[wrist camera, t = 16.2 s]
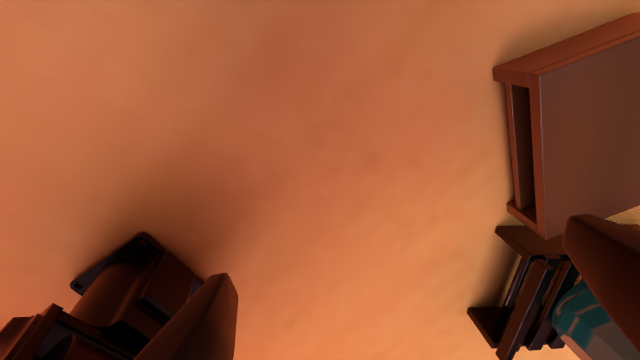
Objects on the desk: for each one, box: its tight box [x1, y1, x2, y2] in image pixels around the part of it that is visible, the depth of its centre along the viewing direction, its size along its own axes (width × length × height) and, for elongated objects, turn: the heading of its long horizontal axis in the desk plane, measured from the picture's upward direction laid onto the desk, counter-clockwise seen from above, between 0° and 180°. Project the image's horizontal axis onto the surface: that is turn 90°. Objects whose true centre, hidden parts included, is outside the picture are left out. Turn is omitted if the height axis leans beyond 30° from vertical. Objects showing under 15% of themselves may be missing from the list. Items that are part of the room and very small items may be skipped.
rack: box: [467, 225, 640, 360], centre depth 25 cm, size 13×9×5 cm
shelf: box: [493, 13, 640, 240], centre depth 20 cm, size 9×11×5 cm
